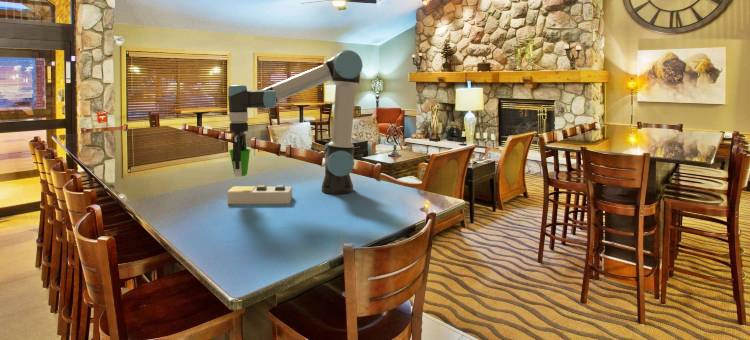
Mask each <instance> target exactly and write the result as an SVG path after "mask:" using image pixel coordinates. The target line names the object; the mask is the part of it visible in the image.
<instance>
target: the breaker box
mask: <svg viewBox="0 0 750 340" xmlns="http://www.w3.org/2000/svg"><path fill="white" fill-rule="evenodd" d="M257 187H258V186H255V185H252V186H251V185H245V186H244V185H243V186H242V185H240V186H239V185H235V186H232V187H230V188H229V189H228V190H227V193H226V196H227V197H226V198H227V205H256V204H257V205H259V204H260V205H264V204H265V205H266V204H267V205H268V204H269V205H275V204H277V205H283V204H290V202H291V200H292V199H293V186H285V190H283V191H275V187H276V186H266V188H267V190H266V191H257Z"/></svg>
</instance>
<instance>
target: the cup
mask: <svg viewBox="0 0 750 340" xmlns="http://www.w3.org/2000/svg"><path fill="white" fill-rule="evenodd" d="M228 152H229V154H230V158H231V164H232V168H233V174H234V175H235V168H234V161H232V160H233V148H232V149H229V150H228ZM250 154H251V149H250V148H247V149H245V150H244V151H241V158H240V161H241V170H242V176H241V177H246V176H247V175H248V170H249V161H250Z"/></svg>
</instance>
